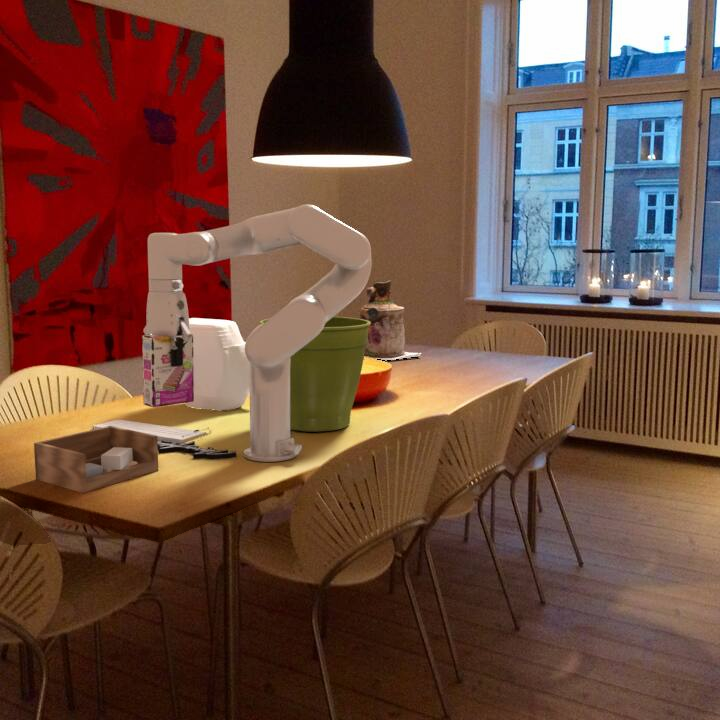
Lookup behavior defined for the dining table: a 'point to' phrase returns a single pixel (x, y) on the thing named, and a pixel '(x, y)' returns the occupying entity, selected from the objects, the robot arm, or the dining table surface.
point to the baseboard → (156, 430)
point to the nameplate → (193, 450)
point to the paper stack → (218, 365)
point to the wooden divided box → (93, 457)
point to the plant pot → (327, 375)
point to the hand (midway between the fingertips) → (167, 363)
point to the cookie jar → (384, 325)
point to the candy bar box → (166, 372)
